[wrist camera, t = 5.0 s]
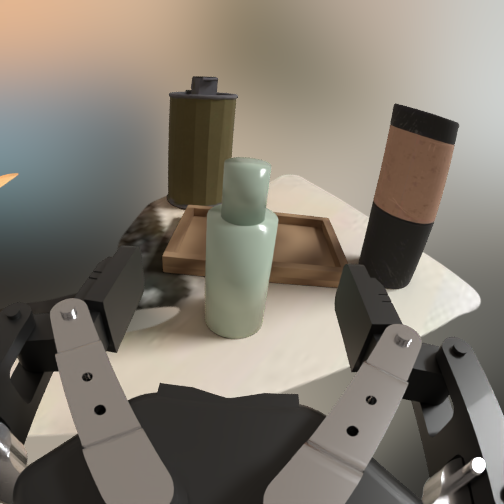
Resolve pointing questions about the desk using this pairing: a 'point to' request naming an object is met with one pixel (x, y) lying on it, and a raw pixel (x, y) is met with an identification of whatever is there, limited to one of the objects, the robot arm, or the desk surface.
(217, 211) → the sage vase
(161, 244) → the desk surface
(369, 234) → the travel mug
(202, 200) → the canister
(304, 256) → the walnut tray
